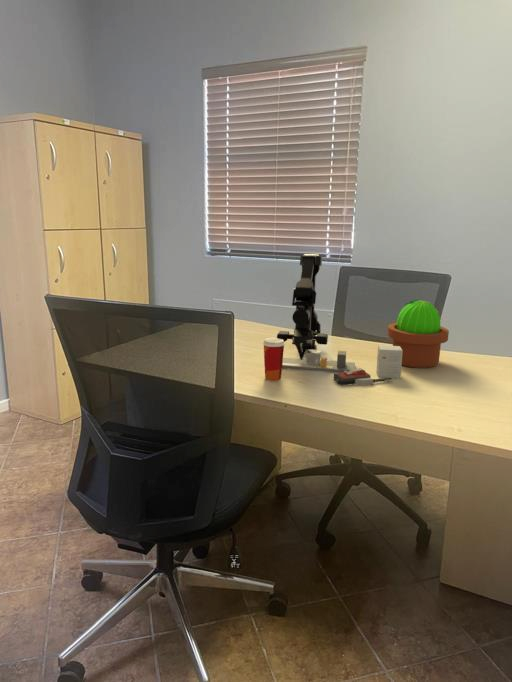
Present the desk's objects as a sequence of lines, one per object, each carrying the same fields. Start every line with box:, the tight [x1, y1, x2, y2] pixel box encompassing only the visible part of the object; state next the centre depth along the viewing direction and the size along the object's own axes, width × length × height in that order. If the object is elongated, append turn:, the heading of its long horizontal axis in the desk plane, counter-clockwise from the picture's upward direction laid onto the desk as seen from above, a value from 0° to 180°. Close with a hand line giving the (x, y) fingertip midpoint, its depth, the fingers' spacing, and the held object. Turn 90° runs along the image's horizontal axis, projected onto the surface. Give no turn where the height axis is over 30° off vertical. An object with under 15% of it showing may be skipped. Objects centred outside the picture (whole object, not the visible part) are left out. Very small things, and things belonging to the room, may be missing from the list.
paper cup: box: [262, 337, 286, 382], centre depth 182 cm, size 8×8×14 cm
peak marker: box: [320, 356, 328, 367], centre depth 192 cm, size 2×2×3 cm
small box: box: [376, 345, 403, 379], centre depth 187 cm, size 8×6×10 cm
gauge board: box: [282, 350, 356, 373], centre depth 197 cm, size 10×30×6 cm, turn 79°
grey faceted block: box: [306, 349, 322, 365], centre depth 195 cm, size 7×5×4 cm, turn 168°
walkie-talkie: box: [333, 367, 393, 386], centre depth 182 cm, size 9×4×20 cm
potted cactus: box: [387, 299, 450, 369], centre depth 202 cm, size 22×22×25 cm
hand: (301, 359), depth 198 cm, fingers closed
